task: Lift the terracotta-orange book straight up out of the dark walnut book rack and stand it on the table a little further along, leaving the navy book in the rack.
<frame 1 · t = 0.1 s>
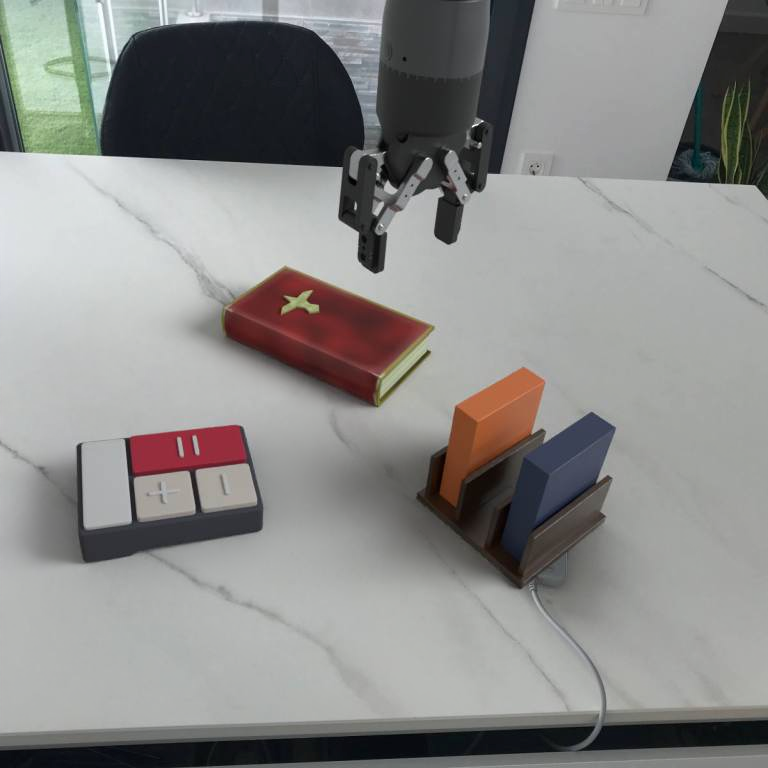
hand: (409, 254, 66), 21 cm above the table, tool pointing down, fingers open, 8 cm apart
calculator: (170, 502, 70), on the table
book rack: (510, 509, 72), on the table
navy book: (543, 529, 70), point 1 cm above the table, touching book rack
hardcover book: (327, 347, 90), on the table
orange book: (481, 480, 74), point 1 cm above the table, touching book rack
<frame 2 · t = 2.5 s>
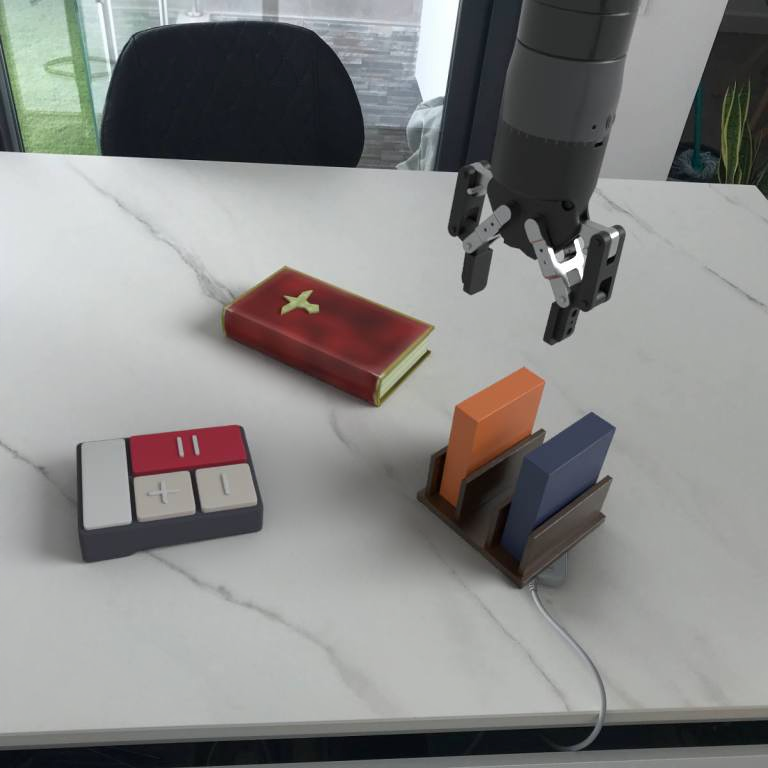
hand: (512, 314, 62), 20 cm above the table, tool pointing down, fingers open, 8 cm apart
nothing on the table moved.
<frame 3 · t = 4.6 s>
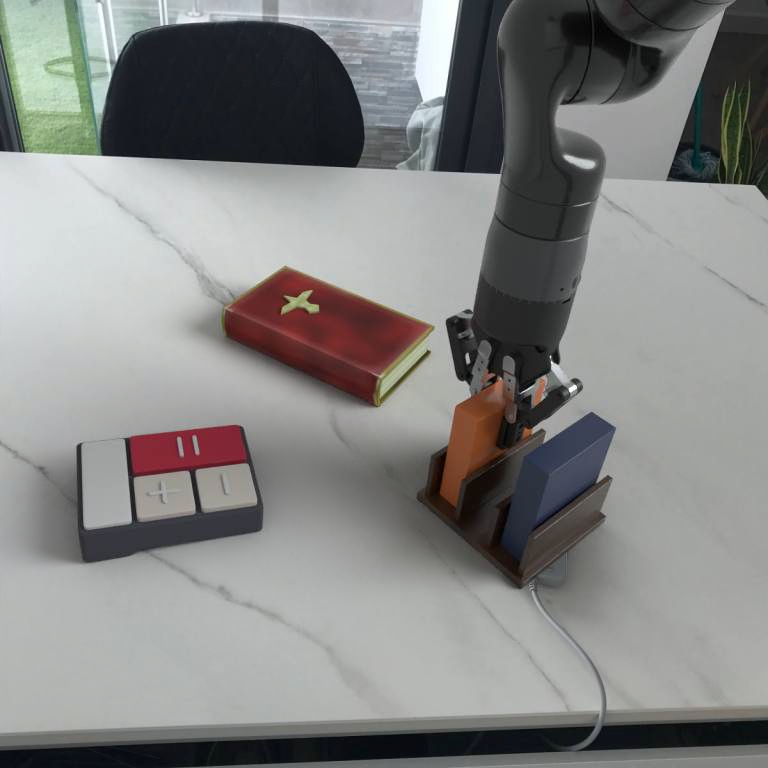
hand: (492, 434, 70), 7 cm above the table, tool pointing down, fingers closed on orange book, 2 cm apart
orange book: (481, 480, 74), point 1 cm above the table, touching book rack, gripper
everything else where it was.
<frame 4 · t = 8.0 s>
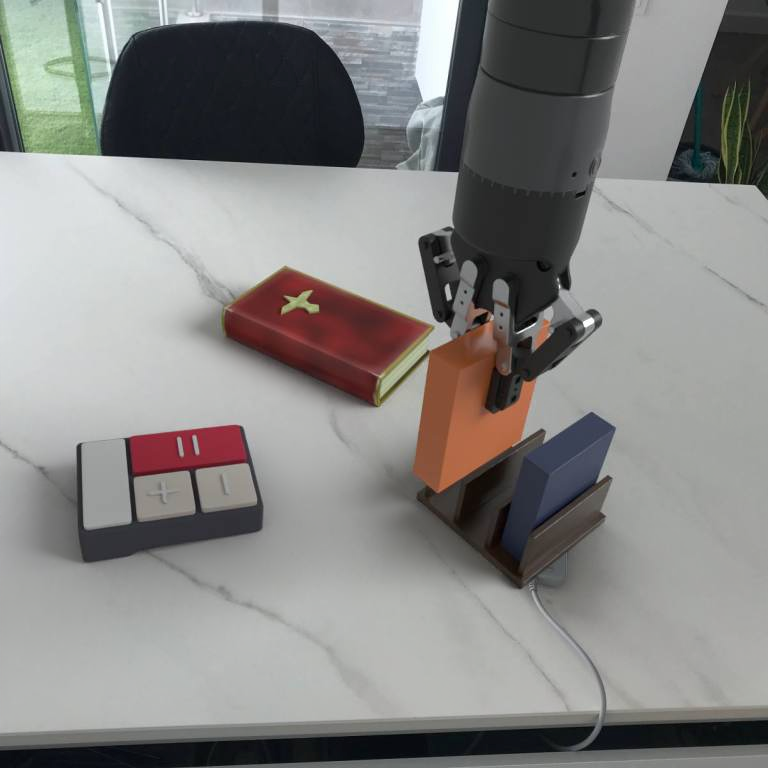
hand: (481, 394, 54), 20 cm above the table, tool pointing down, fingers closed on orange book, 2 cm apart
orange book: (468, 456, 57), point 14 cm above the table, touching gripper
everything else where it was.
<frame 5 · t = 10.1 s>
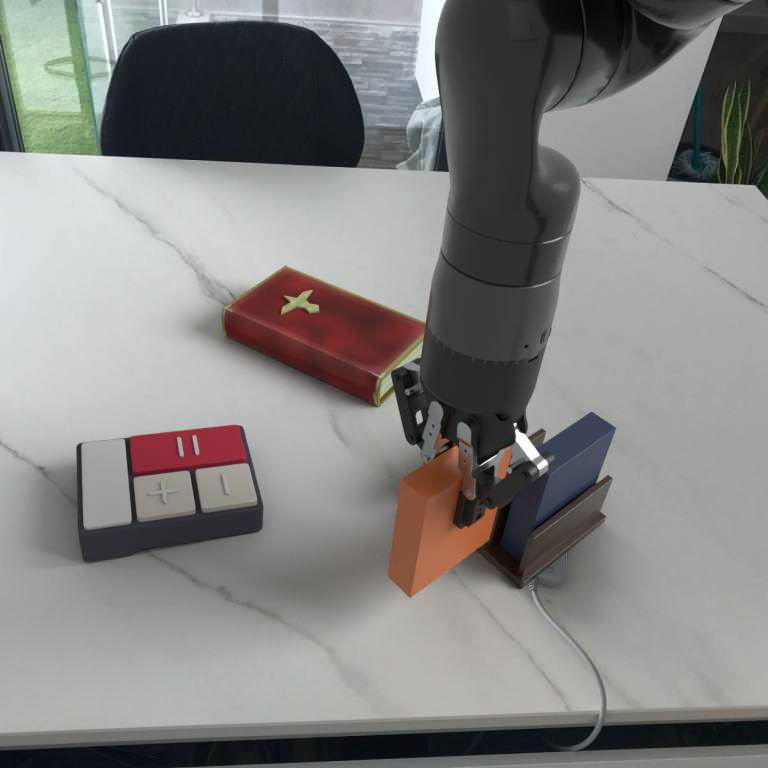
hand: (450, 507, 58), 11 cm above the table, tool pointing down, fingers closed on orange book, 2 cm apart
orange book: (439, 558, 62), point 5 cm above the table, touching gripper
everything else where it was.
when the fingers open (6 cm above the table, at t = 11.4 s): orange book stays where it is, on the table.
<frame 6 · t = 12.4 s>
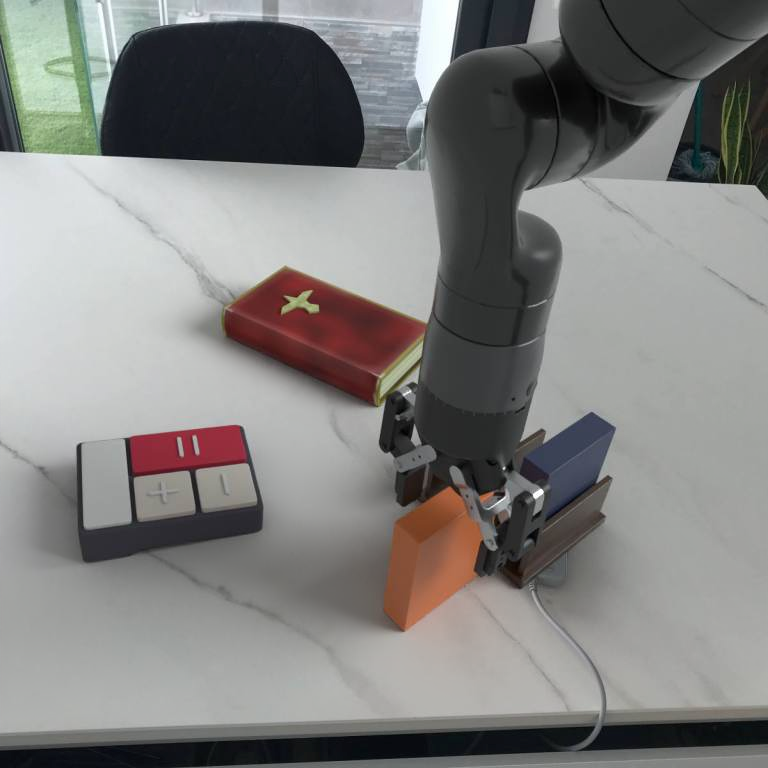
hand: (446, 533, 60), 7 cm above the table, tool pointing down, fingers open, 8 cm apart
orange book: (432, 591, 65), on the table
everything else where it was.
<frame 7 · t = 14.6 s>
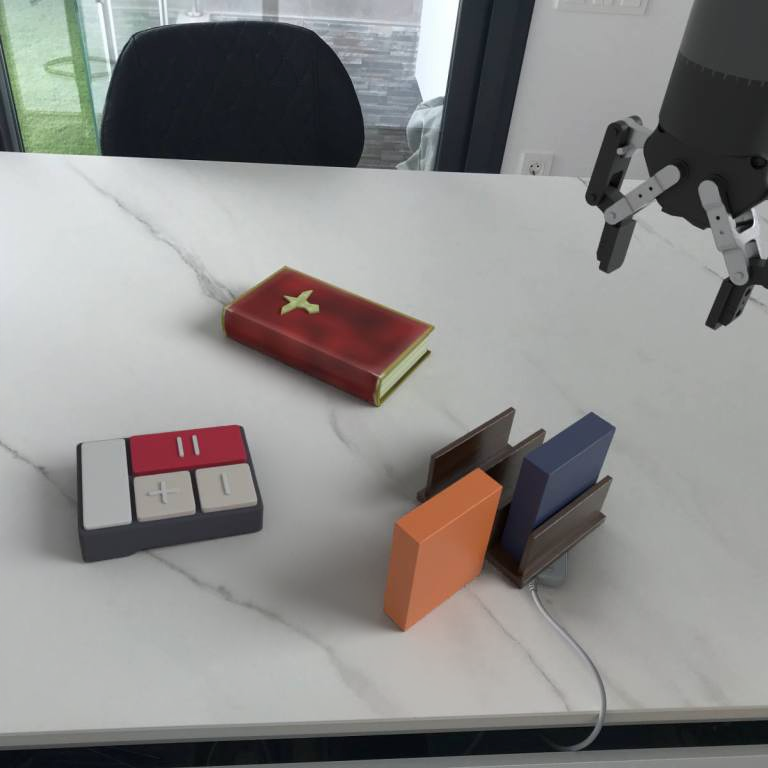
hand: (661, 295, 54), 26 cm above the table, tool pointing down, fingers open, 8 cm apart
nothing on the table moved.
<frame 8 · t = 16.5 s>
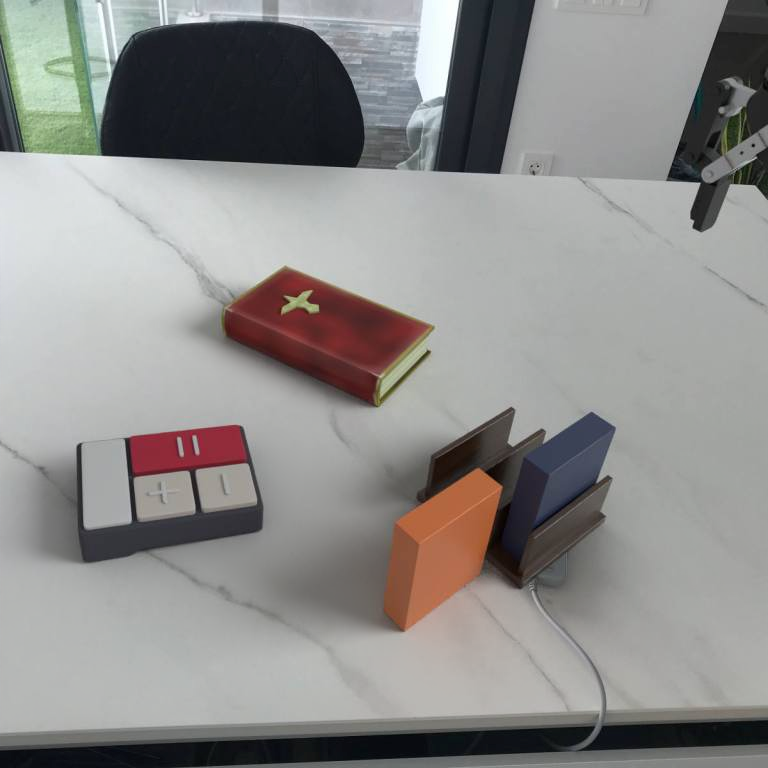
hand: (755, 252, 56), 28 cm above the table, tool pointing down, fingers open, 8 cm apart
nothing on the table moved.
at the end: orange book inside the target area (0.5 cm from its centre), on the table; orange book touching table; navy book moved 0.0 cm from its start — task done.
